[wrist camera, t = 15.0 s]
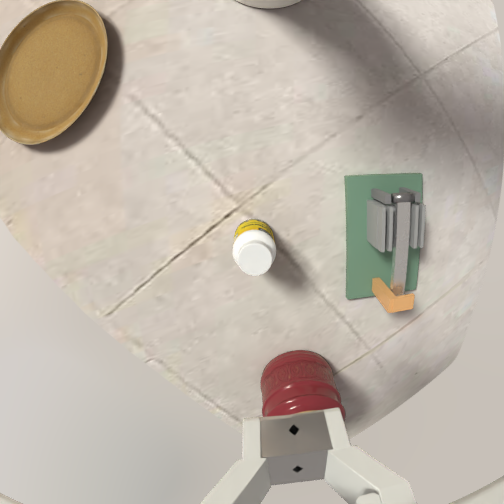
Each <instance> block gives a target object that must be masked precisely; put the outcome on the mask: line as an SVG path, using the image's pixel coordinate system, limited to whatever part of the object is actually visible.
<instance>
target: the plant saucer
mask: <svg viewBox="0 0 504 504" xmlns="http://www.w3.org/2000/svg"><path fill="white" fill-rule="evenodd" d="M107 51H108V41H107V33H106V29H105V25H104V23H103V20H102V19H101V17H100V15H99V14H98V12H97V11H96V10H95V9H94V8H93V7H92V6H90V5H89V4H87V3H85V2H83V1H80V0H56V1H53V2H50V3H47V4H45V5H43V6H41V7H39V8H37V9H36V10H34V11H33V12H31V13H30V14H29V15H27V16H26V17H25V18H24V19H23V20H22V21H21V22H20V23H19V24H18V25H17V26H16V27H15V28H14V29H13V30H12V32H11V33H10V34H9V35H8V37H7V38H6V40H5V42H4V43H3V45H2V47H1V49H0V130H1V132H2V133H3V134H4V135H5V136H7V137H8V138H9V139H11V140H13V141H15V142H17V143H20V144H27V145H33V144H39V143H43V142H46V141H48V140H51V139H53V138H55V137H56V136H58V135H59V134H61V133H62V132H63V131H65V130H66V129H67V128H68V127H70V126H71V125H72V124H73V123H74V122H75V121H76V120H77V119H78V118H79V117H80V115H81V114H82V113H83V112H84V110H85V109H86V108H87V106H88V105H89V103H90V102H91V100H92V98H93V97H94V95H95V93H96V91H97V89H98V87H99V84H100V82H101V79H102V76H103V73H104V69H105V65H106V60H107Z"/></svg>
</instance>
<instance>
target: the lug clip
mask: <svg viewBox="0 0 504 504" xmlns="http://www.w3.org/2000/svg"><path fill="white" fill-rule="evenodd" d="M372 292H373V293H374V295H375V296H376V297H377V299H378V300H379V301H380V303H381V304H382V305H383V307H384V308H385V309H386V311H387V312H388V313H391V312H392V313H393V312H398V311H404V310H409V309H413V304H414V296H415V295H414V294H407V295H401V296H395V295H394V294H393V292H392V291H391V290H390V289H389V288H388V287H387V285H386V284H385V283H384V282H383V281H382V280H381V279H380V277H378V278H373V279H372Z"/></svg>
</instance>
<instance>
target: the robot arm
mask: <svg viewBox="0 0 504 504" xmlns="http://www.w3.org/2000/svg"><path fill="white" fill-rule="evenodd" d="M236 1H238V2H240V3H243V4H245V5H248V6H252V7H257V8H281V7H286V6H290V5H293V4H295V3H297V2H299V1H301V0H236ZM242 448H243V450H242V452H243V453H242V459H240V460H237V461H236V462H235V464H234V465H233V466H232V467H231V468H230V469H229V471H228V472H227V473H226V474H225V476H224V477H223V478H222V479H221V480H220V481H219V482H218V484H217V485H216V486H215V487H214V488H213V489H212V490H211V492H210V493H209V494H208V495H207V496H206V497H205V498H204V499H203V501H202V502H201V503H200V504H260V503H261V502H262V500H263V499H264V497H265V496H266V494H267V492H268V491H269V489H270V488H271V485H278V484H287V483H294V482H303V481H312V480H320V479H324V480H325V481H326V482H327V483H328V484H329V485H330V486H331V487H332V488H333V489H334V490H335V491H336V492H337V493H338V494H339V495H340V496H341V497H342V498H343V499H344V500H345V501H346V502H347V503H348V504H417V502H416V499H415V497H414V494H413V491H412V489H411V486H410V483H409V481H407V480H405V479H404V478H402V477H401V476H399V475H398V474H396V473H395V472H393V471H392V470H390V469H389V468H387V467H386V466H384V465H383V464H382V463H380V462H379V461H377V460H376V459H375V458H373V457H372V456H370V455H369V454H367V453H366V452H365V451H363V450H362V449H361V448H359V447H358V446H356V445H353V446H351V443H350V440H349V437H348V433H347V430H346V427H345V423H344V420H343V417H342V414H341V410H340V409H339V408H338V407H337V408H331V409H325V410H317V411H311V412H304V413H297V414H291V415H283V416H269V417H255V418H244V419H243V447H242ZM0 504H22V503H20V502H18V501H16V500H13V499H11V498H9V497H7V496H5V495H3V494H1V493H0ZM450 504H504V476H503V477H501V478H499V479H497V480H496V481H494V482H492V483H490V484H489V485H487V486H485V487H483V488H481V489H479V490H477V491H475V492H473V493H471V494H469V495H467V496H465V497H463V498H461V499H459V500H456V501H454V502H452V503H450Z"/></svg>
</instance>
